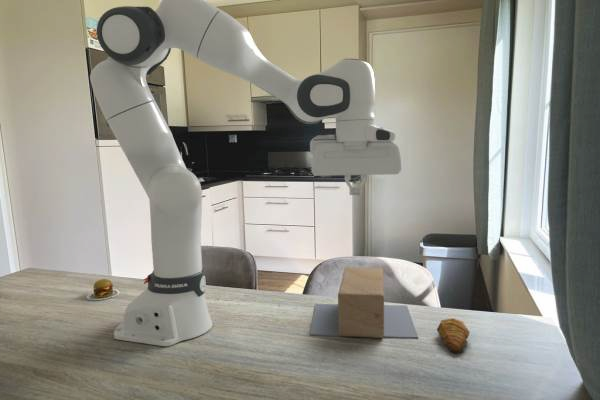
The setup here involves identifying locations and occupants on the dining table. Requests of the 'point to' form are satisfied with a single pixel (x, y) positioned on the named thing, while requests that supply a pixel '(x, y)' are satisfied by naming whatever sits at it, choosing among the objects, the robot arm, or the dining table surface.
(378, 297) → the wooden block
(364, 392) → the dining table surface
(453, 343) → the croissant
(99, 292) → the hamburger
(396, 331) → the felt mat
